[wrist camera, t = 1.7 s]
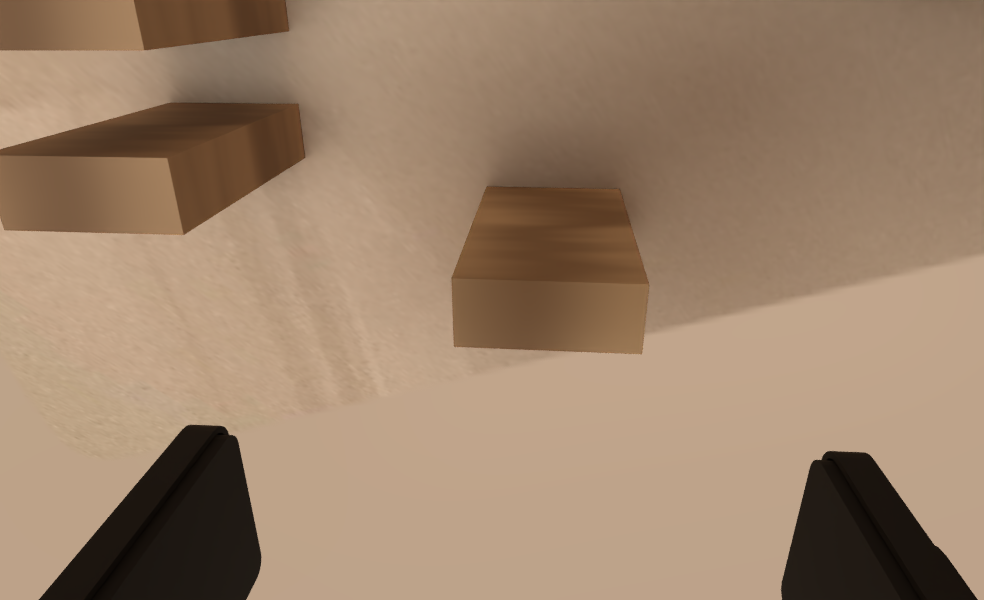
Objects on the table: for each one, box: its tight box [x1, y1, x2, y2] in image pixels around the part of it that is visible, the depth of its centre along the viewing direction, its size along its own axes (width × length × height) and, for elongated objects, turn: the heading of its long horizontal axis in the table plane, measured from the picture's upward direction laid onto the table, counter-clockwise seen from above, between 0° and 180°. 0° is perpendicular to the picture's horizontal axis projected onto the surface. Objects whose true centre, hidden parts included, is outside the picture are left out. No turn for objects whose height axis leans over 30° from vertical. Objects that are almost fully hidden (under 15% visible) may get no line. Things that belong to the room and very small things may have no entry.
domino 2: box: [0, 103, 305, 235], centre depth 21 cm, size 5×2×9 cm, turn 91°
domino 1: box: [0, 0, 289, 50], centre depth 19 cm, size 5×2×9 cm, turn 91°
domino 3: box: [452, 187, 649, 354], centre depth 21 cm, size 5×2×9 cm, turn 91°
